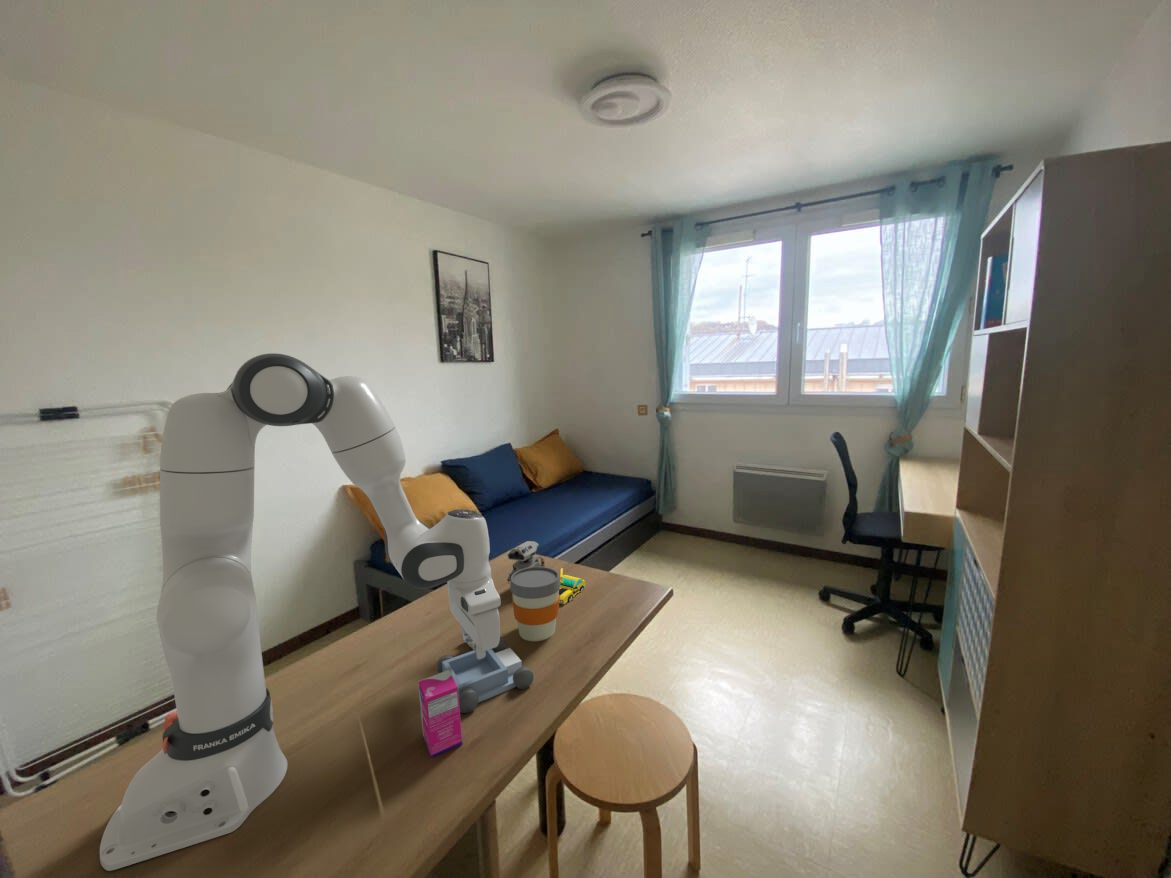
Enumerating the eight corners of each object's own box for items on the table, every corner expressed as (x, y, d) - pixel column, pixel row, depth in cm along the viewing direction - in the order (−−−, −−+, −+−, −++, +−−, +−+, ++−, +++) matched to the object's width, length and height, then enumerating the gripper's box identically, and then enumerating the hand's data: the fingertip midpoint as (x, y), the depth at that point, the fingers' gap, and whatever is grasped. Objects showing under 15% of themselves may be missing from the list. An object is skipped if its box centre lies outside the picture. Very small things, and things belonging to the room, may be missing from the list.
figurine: (500, 595, 139) (498, 546, 137) (528, 581, 148) (526, 535, 145) (521, 604, 133) (519, 553, 131) (549, 589, 142) (548, 542, 140)
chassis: (459, 716, 90) (458, 696, 89) (436, 675, 102) (435, 657, 102) (533, 685, 98) (533, 666, 98) (504, 650, 111) (503, 633, 110)
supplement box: (421, 737, 85) (417, 679, 83) (454, 724, 88) (450, 668, 86) (429, 759, 80) (425, 698, 78) (463, 744, 83) (460, 685, 81)
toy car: (566, 586, 144) (566, 560, 143) (588, 592, 140) (587, 565, 139) (544, 603, 134) (543, 575, 132) (566, 609, 130) (566, 581, 128)
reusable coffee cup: (529, 615, 127) (527, 563, 124) (570, 625, 121) (569, 570, 119) (502, 639, 115) (499, 582, 113) (545, 651, 110) (543, 591, 108)
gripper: (439, 573, 103) (444, 631, 105) (472, 611, 86) (477, 679, 88) (467, 566, 106) (471, 622, 108) (504, 601, 89) (507, 667, 91)
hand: (474, 648), depth 98 cm, fingers open, 6 cm apart
